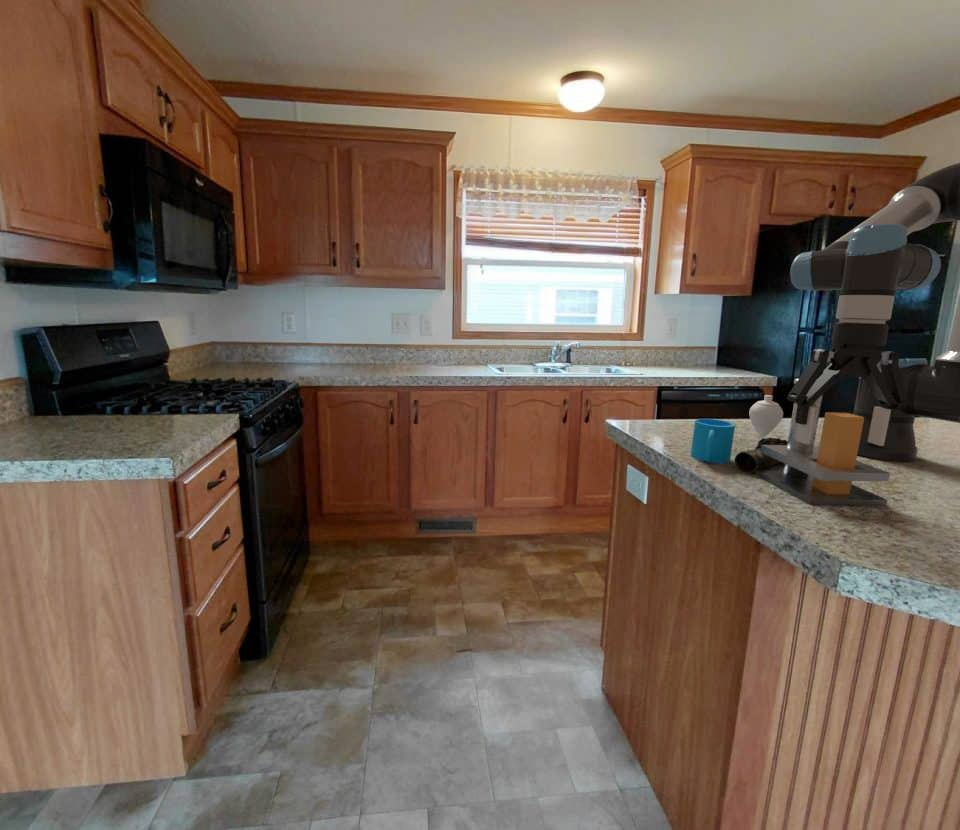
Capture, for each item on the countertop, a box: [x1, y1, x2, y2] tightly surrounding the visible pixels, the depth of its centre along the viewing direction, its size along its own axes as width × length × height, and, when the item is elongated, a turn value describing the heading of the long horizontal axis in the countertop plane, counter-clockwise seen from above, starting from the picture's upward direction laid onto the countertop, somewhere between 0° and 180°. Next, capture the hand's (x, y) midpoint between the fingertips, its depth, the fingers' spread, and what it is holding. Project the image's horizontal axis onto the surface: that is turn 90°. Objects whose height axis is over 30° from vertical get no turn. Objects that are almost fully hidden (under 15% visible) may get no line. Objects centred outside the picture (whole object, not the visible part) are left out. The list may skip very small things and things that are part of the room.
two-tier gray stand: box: [754, 377, 891, 506], centre depth 94 cm, size 14×18×20 cm
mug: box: [690, 418, 736, 464], centre depth 112 cm, size 12×8×8 cm
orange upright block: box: [812, 411, 864, 494], centre depth 91 cm, size 4×4×14 cm
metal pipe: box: [734, 437, 788, 474], centre depth 110 cm, size 18×7×6 cm, turn 121°
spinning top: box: [748, 394, 784, 440], centre depth 131 cm, size 8×8×12 cm
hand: (839, 443), depth 90 cm, fingers open, 13 cm apart
